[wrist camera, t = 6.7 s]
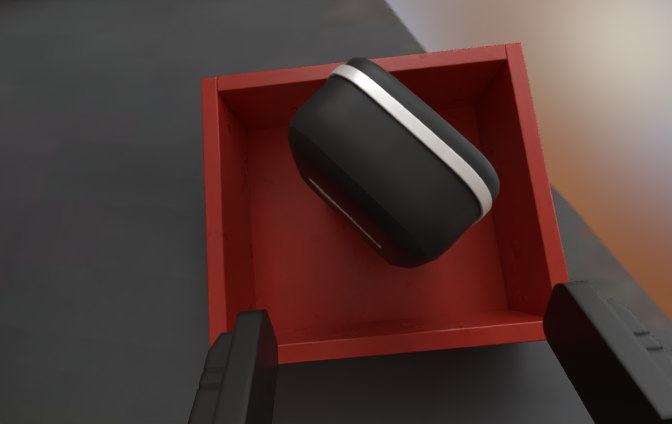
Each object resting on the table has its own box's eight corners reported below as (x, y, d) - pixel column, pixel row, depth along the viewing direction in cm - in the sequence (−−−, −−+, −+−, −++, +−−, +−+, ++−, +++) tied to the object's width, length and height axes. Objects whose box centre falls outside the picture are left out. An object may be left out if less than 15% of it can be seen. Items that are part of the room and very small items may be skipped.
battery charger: (305, 197, 22) (254, 114, 11) (349, 152, 22) (346, 27, 11) (391, 281, 21) (434, 286, 10) (436, 233, 21) (529, 184, 10)
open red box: (245, 347, 21) (209, 370, 16) (234, 122, 23) (200, 78, 18) (523, 322, 21) (581, 337, 15) (483, 95, 23) (521, 42, 18)
